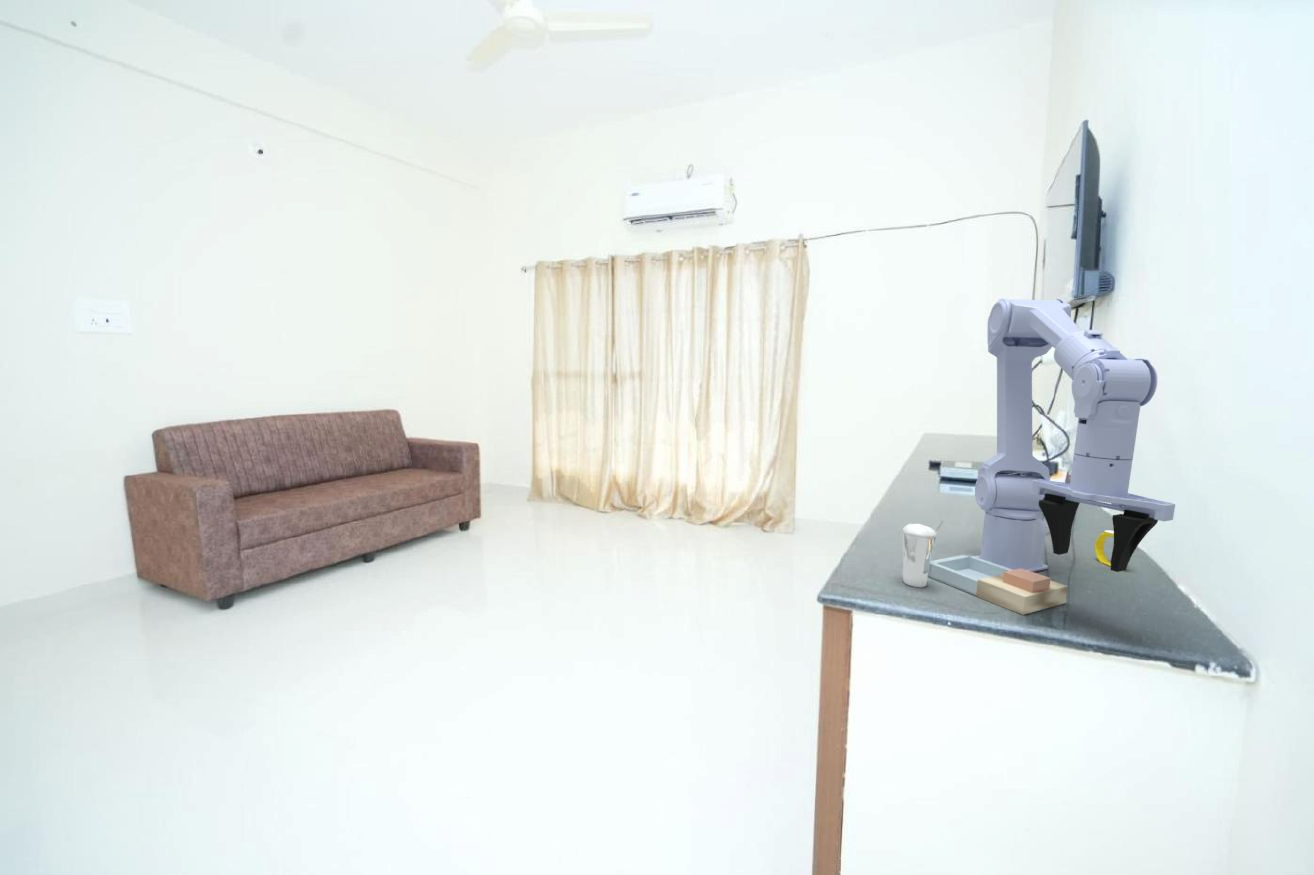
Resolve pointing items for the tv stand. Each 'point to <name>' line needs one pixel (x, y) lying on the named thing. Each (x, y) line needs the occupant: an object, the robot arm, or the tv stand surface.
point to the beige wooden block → (1020, 595)
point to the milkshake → (917, 553)
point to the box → (964, 571)
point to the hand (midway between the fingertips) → (1088, 561)
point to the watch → (1100, 545)
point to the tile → (1026, 580)
